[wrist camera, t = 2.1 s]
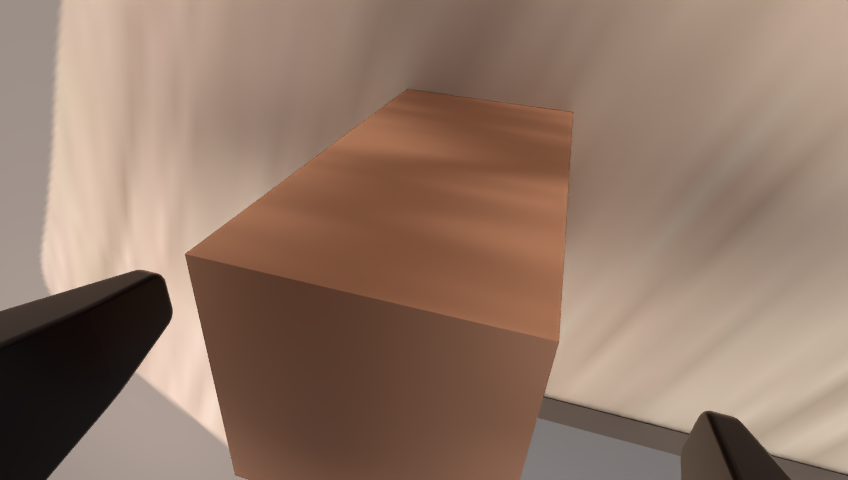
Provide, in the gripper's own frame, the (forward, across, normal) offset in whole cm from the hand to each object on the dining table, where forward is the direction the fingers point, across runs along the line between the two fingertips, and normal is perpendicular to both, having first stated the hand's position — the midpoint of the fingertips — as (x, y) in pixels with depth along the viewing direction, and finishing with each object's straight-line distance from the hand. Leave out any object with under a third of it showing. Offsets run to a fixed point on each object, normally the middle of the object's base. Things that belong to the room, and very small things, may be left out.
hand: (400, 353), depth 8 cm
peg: (+8, 0, 0) cm, 8 cm away
